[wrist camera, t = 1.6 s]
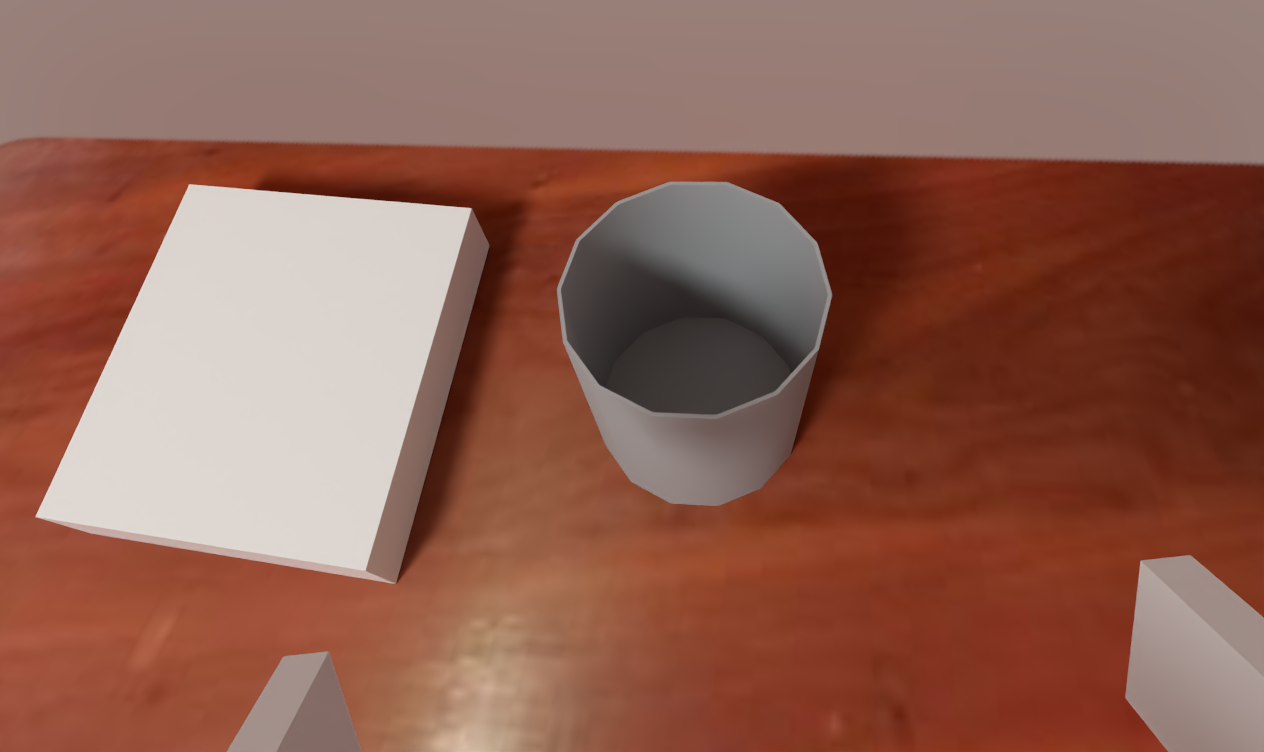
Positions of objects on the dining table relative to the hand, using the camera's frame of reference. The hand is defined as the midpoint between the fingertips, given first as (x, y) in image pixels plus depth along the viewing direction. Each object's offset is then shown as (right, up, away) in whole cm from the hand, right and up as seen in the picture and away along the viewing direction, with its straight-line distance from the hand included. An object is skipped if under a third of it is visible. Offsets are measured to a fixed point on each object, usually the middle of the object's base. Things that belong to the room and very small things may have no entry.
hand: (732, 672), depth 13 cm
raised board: (-17, +5, +23) cm, 29 cm away
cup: (+1, +3, +21) cm, 21 cm away
